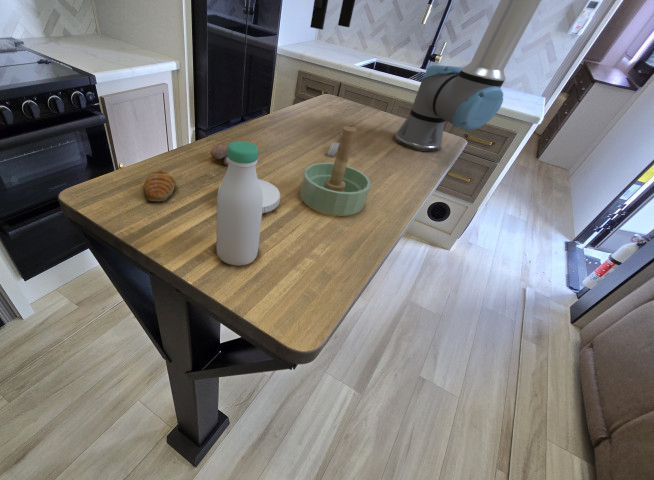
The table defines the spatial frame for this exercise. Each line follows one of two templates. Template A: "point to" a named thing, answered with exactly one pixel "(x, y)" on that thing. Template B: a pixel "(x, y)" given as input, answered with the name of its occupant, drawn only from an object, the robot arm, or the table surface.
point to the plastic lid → (269, 196)
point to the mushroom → (220, 153)
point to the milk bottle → (239, 206)
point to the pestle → (341, 160)
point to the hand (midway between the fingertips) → (330, 27)
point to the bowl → (330, 199)
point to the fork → (333, 148)
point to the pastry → (159, 185)
